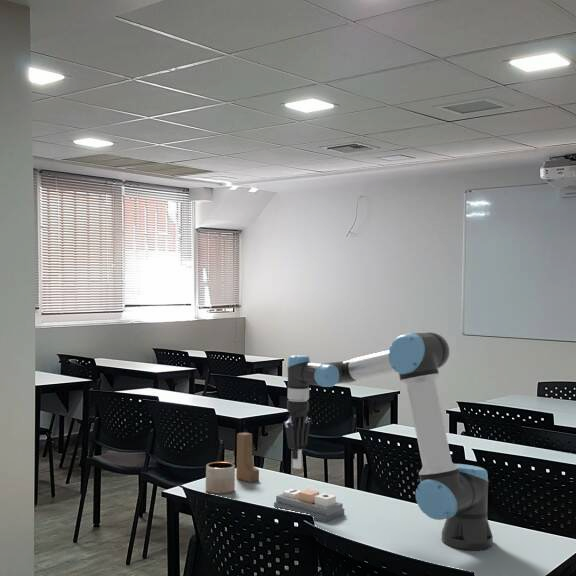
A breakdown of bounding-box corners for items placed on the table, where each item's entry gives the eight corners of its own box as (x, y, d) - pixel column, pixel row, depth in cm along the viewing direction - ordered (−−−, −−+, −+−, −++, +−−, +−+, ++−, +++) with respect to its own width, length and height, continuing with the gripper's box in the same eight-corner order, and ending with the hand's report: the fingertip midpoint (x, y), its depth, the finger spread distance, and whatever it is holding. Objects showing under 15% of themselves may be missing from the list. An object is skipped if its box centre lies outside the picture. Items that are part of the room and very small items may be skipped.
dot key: (335, 505, 242) (335, 495, 242) (326, 508, 238) (326, 498, 238) (323, 502, 245) (323, 492, 245) (314, 505, 242) (314, 495, 242)
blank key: (319, 500, 247) (319, 492, 247) (310, 503, 243) (310, 495, 243) (307, 497, 250) (307, 489, 250) (298, 500, 246) (298, 492, 246)
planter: (220, 496, 263) (221, 470, 263) (199, 490, 269) (200, 465, 269) (240, 490, 271) (241, 464, 271) (219, 485, 278) (219, 460, 278)
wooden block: (259, 481, 284) (260, 435, 284) (250, 483, 281) (251, 436, 281) (244, 476, 291) (245, 432, 291) (235, 478, 288) (236, 433, 288)
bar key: (303, 500, 251) (303, 490, 251) (294, 503, 247) (294, 493, 247) (292, 497, 254) (292, 488, 254) (283, 500, 251) (283, 490, 251)
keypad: (344, 514, 244) (344, 502, 244) (324, 522, 235) (324, 510, 235) (294, 501, 258) (294, 490, 258) (273, 508, 249) (274, 496, 249)
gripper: (301, 396, 258) (300, 462, 257) (277, 400, 248) (276, 469, 247) (318, 399, 253) (317, 466, 253) (294, 403, 243) (293, 473, 243)
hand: (297, 467), depth 250 cm, fingers closed
